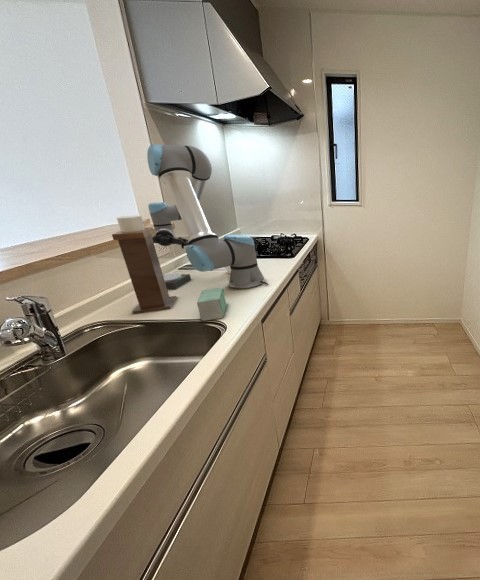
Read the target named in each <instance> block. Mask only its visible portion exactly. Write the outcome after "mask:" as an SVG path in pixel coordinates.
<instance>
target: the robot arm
mask: <svg viewBox="0 0 480 580" xmlns="http://www.w3.org/2000/svg"><path fill="white" fill-rule="evenodd" d="M146 153H147V155H146V156H147V166H148V170H149V172H150V173H151V175H152V176H155V177H158V178H159V180H160V182H161V183H163V184H165V185H166V186H167V189H168V191H169V193H170V196H171V197H172V200H173V202H174V205H173V204H172V205H167V203H166V202H164V201H163V202H150V203H148V205H147V206H148V211H149V215H150V218H151V219H150V220H151V223H152V224H153V229H154V228H155V229H154V231H155V230H156V233H155V235H153V236H152V239H153V242H154V244H158V245H160V246H163V247H169V246H172V245H179V246H181V249H185V253H186V257H187V259H188V261H189V263H190V264H191V266H193V268H194V269H195V270H196V271H198V272H201V273H204V272H211V271H214V270H218V269H222V268H226V267H227V266H230V268H231V272H230V274H229V278H228V279H229V280H228V284H229V287H230V288H231V289H236V290H243V289H244V290H245V289H251V288H255V287H259V286H261V285H263V284H264V285H267V286H268V285H269V283H268V282H265V277H264V275H263V273H262V271H261V269H260V268H259V265H258V258H257V253H256V247H255V246H256V245H255V241H254V238H253V237H252V236H251V235H247V234H225V235H224V236H223V239H220V238H219V236H218V234H216V233H214V232H212V229H211V227H210V225H209V222H208V220H207V218H206V215H205V213H204V211H203V208H202V207H201V203H200V201H201V198H202V195H203V192H204V189H205V186H206V184H207V181H209V180H210V178H211V176H212V173H213V167H212V162H211V160H210V159H209V157H208V156H207V154H205V153H204V152H203V150H201V149H199V148H198V147H195V146H192V145H178V144H177V145H176V144H175V145H174V144H163V143H160V144H150V145H149V146H148V148H147V151H146ZM174 221H182V223H183V226H184V228H185V230H186V232H187V233H186V234H187V235H188V237H189V238H188V239H187V238H184V237H181V236H179V237H177V238H176V237H175V232H174V229H173V226H172V222H174Z"/></svg>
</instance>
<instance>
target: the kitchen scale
mask: <svg viewBox="0 0 480 580" xmlns="http://www.w3.org/2000/svg"><path fill="white" fill-rule="evenodd" d="M163 277H164V280H165V284H166V287H167V290H176V289H178V288H180V287H182V286H183V285H186V284H187V283H188V282H190V281H192V279H191V274H190V273H183V274H181V273H167V274H163Z"/></svg>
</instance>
